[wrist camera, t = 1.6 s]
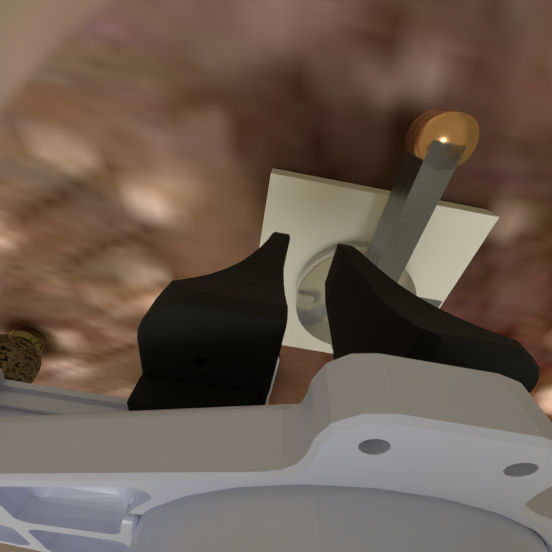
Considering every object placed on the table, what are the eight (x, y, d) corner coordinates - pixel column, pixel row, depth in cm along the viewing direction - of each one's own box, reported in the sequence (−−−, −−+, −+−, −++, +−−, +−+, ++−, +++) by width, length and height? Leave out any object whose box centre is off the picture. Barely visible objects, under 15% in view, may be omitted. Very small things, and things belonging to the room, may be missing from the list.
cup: (49, 313, 29) (-23, 378, 23) (76, 360, 34) (21, 426, 27) (-18, 309, 30) (-108, 372, 23) (17, 356, 34) (-52, 420, 27)
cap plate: (397, 353, 29) (402, 366, 28) (247, 328, 29) (245, 339, 27) (487, 209, 20) (499, 217, 19) (272, 168, 20) (270, 173, 18)
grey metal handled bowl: (382, 337, 26) (397, 380, 22) (286, 321, 25) (284, 361, 22) (499, 123, 16) (563, 133, 12) (346, 91, 16) (362, 91, 12)
